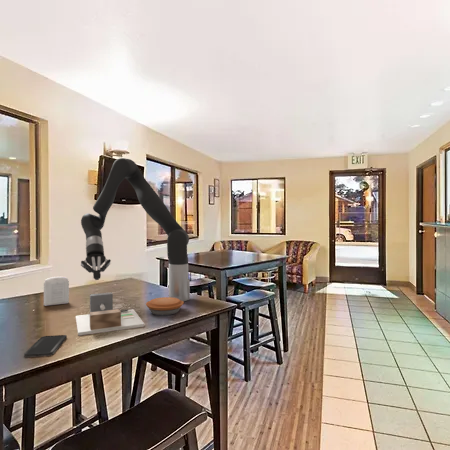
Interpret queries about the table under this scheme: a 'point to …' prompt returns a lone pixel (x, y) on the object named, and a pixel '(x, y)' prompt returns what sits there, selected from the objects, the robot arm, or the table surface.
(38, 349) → the phone
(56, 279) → the photo printer
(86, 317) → the base
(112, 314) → the brown wooden block
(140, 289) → the table surface
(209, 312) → the table surface
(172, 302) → the pie
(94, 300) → the gauge carriage
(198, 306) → the table surface
